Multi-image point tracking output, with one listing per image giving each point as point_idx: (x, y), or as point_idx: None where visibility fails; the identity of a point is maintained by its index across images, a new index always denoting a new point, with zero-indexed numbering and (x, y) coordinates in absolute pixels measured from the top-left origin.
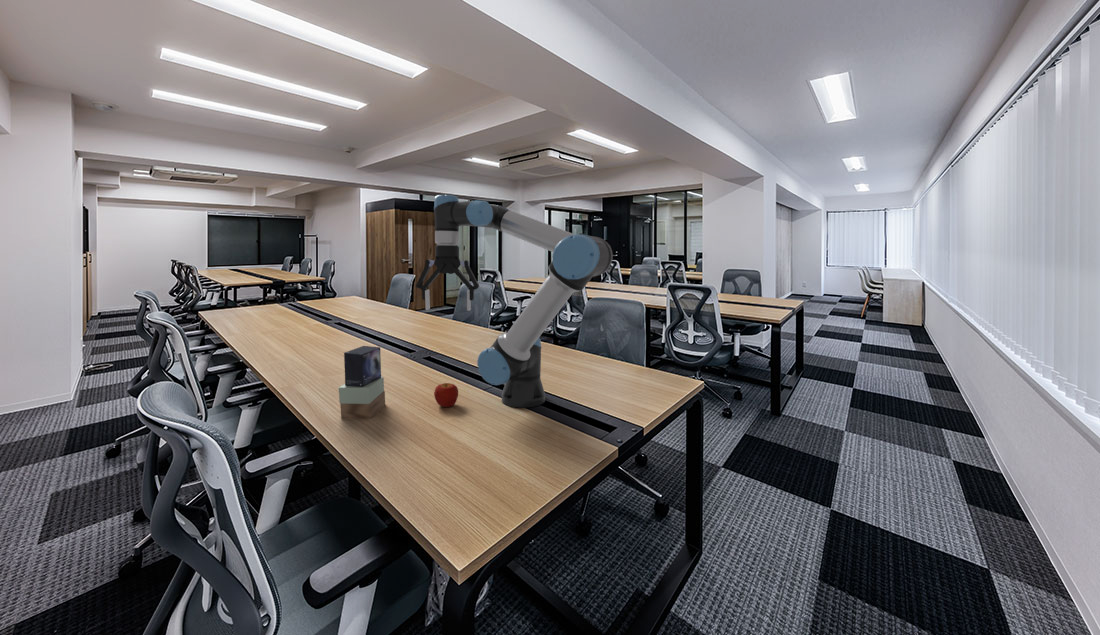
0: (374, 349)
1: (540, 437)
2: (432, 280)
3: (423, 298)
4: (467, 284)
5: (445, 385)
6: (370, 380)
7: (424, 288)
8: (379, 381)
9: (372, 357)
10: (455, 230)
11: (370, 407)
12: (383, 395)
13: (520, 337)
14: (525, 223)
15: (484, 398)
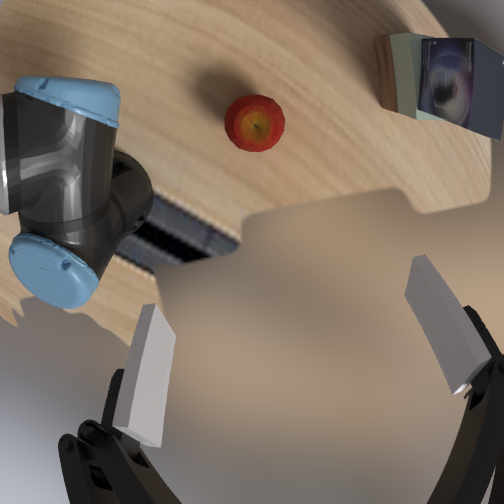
0: (472, 98)
1: (40, 55)
2: (466, 460)
3: (469, 312)
4: (119, 477)
5: (260, 131)
6: (424, 64)
7: (498, 368)
8: (412, 93)
9: (458, 79)
10: None
11: (384, 35)
12: (392, 103)
13: None
14: None
15: (189, 180)
